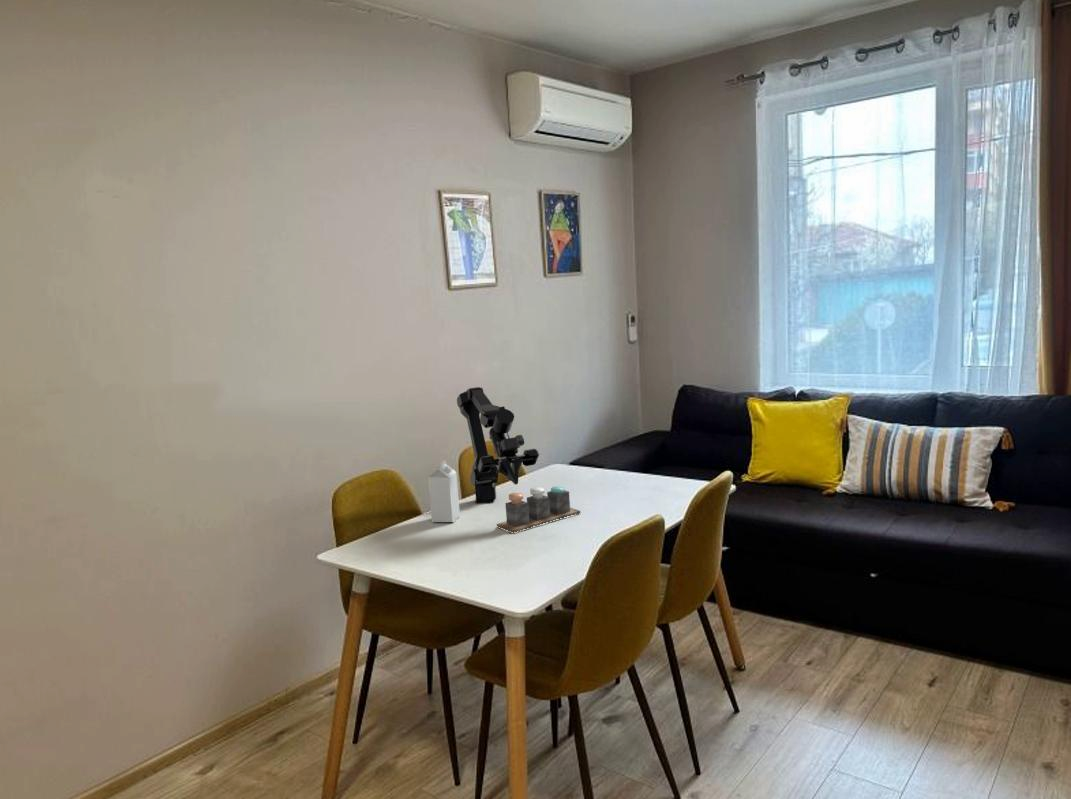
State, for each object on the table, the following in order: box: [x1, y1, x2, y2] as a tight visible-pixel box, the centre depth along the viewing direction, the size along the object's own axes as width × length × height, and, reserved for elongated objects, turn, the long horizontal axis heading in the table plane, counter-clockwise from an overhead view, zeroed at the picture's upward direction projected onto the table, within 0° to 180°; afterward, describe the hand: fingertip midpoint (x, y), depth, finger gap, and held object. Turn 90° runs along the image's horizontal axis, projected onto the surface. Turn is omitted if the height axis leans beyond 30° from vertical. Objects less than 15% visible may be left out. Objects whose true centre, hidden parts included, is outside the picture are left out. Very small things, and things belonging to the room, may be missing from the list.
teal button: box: [550, 485, 566, 494], centre depth 230 cm, size 4×4×4 cm
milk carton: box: [427, 460, 461, 523], centre depth 232 cm, size 7×7×19 cm
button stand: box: [496, 490, 581, 534], centre depth 226 cm, size 26×9×8 cm, turn 126°
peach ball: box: [508, 492, 524, 505], centre depth 221 cm, size 4×4×4 cm
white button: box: [529, 486, 545, 499], centre depth 225 cm, size 4×4×4 cm
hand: (516, 483), depth 220 cm, fingers closed
